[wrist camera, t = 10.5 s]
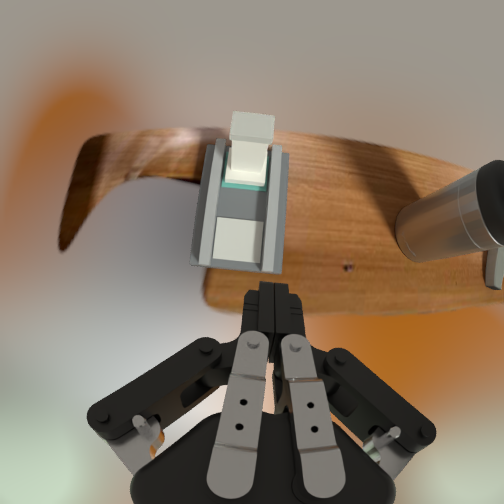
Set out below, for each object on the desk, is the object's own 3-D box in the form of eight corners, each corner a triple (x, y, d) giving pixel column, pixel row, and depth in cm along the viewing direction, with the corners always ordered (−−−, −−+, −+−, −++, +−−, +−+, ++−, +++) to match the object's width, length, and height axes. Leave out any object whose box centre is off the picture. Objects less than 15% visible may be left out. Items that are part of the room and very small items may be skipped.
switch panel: (208, 151, 37) (206, 137, 33) (286, 159, 38) (291, 147, 34) (191, 265, 35) (187, 262, 31) (278, 274, 35) (284, 272, 32)
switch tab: (229, 151, 34) (230, 104, 24) (266, 155, 35) (279, 110, 24) (225, 182, 34) (224, 141, 24) (263, 186, 34) (276, 147, 24)
